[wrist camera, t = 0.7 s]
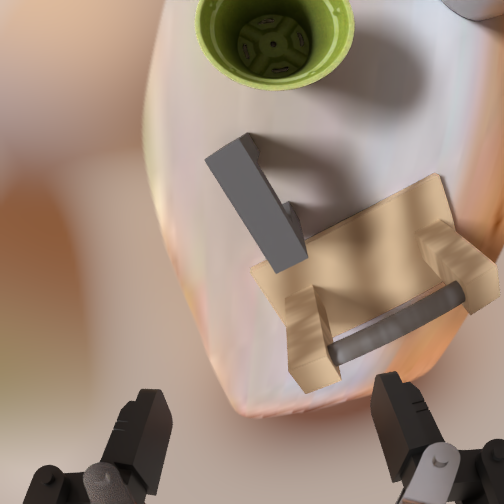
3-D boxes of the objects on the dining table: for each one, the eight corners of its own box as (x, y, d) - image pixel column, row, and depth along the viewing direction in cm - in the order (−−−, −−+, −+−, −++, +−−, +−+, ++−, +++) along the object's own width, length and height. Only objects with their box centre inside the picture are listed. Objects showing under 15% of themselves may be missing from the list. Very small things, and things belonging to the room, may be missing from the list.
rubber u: (247, 132, 26) (238, 138, 19) (299, 219, 29) (308, 257, 21) (222, 147, 26) (204, 159, 19) (274, 232, 29) (276, 274, 22)
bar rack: (434, 172, 26) (503, 207, 16) (460, 264, 30) (514, 321, 20) (250, 267, 31) (241, 342, 21) (301, 344, 35) (308, 424, 25)
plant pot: (343, 85, 24) (374, 73, 16) (235, 111, 25) (220, 109, 17) (310, -10, 20) (324, -53, 12) (204, 17, 22) (177, -19, 14)
